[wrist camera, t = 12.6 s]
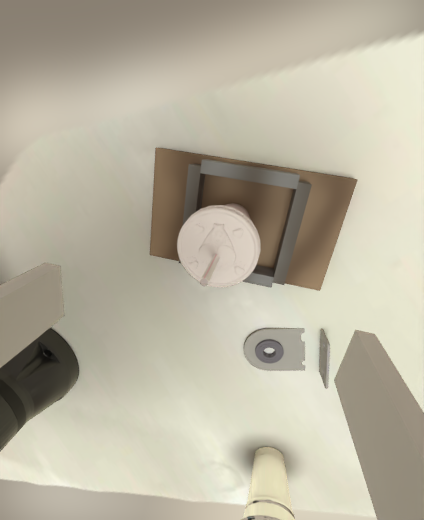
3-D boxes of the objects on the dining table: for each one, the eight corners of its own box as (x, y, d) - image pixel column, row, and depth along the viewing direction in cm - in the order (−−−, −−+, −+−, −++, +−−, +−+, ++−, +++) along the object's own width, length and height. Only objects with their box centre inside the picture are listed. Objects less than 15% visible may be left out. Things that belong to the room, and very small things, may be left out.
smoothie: (202, 245, 31) (155, 311, 18) (204, 187, 28) (152, 216, 16) (259, 251, 30) (252, 326, 17) (266, 192, 27) (264, 227, 15)
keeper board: (153, 251, 34) (141, 262, 30) (159, 147, 29) (146, 147, 26) (318, 285, 31) (324, 301, 28) (353, 178, 27) (365, 182, 23)
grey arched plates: (242, 325, 36) (240, 342, 32) (324, 326, 33) (330, 344, 30) (246, 365, 38) (244, 385, 35) (322, 369, 36) (328, 390, 33)
